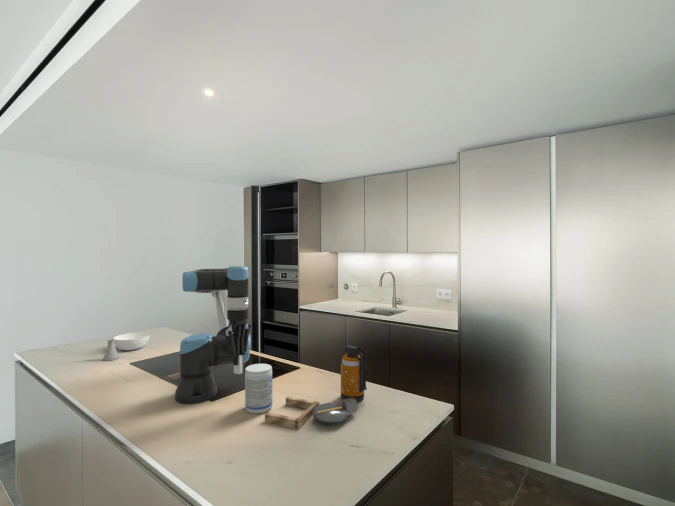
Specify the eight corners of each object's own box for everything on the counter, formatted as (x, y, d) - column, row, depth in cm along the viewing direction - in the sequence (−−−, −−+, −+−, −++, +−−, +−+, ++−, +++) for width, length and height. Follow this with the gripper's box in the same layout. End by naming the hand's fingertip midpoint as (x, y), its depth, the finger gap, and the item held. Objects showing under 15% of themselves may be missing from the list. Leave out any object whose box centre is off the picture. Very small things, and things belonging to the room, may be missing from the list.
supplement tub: (276, 410, 123) (276, 368, 123) (250, 417, 118) (250, 373, 118) (266, 400, 131) (266, 361, 131) (241, 406, 126) (241, 366, 126)
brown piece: (264, 421, 115) (264, 414, 115) (287, 403, 129) (287, 396, 129) (299, 429, 110) (299, 421, 110) (319, 409, 124) (319, 402, 124)
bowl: (105, 352, 195) (105, 339, 195) (129, 343, 213) (129, 332, 213) (134, 354, 192) (134, 340, 192) (156, 345, 210) (156, 333, 210)
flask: (113, 361, 179) (113, 341, 179) (99, 361, 179) (99, 341, 179) (122, 357, 186) (122, 338, 186) (108, 357, 186) (108, 338, 186)
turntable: (321, 427, 109) (321, 414, 109) (308, 412, 119) (308, 400, 119) (362, 417, 115) (362, 405, 115) (347, 404, 125) (347, 393, 125)
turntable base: (316, 422, 114) (316, 419, 114) (324, 413, 121) (324, 410, 121) (336, 426, 112) (336, 423, 112) (343, 417, 118) (343, 414, 118)
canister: (351, 391, 140) (351, 341, 140) (373, 399, 132) (373, 346, 132) (335, 397, 134) (335, 345, 134) (357, 407, 126) (357, 351, 126)
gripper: (234, 311, 120) (235, 380, 120) (257, 306, 132) (257, 368, 132) (217, 310, 123) (217, 377, 123) (240, 305, 135) (240, 366, 135)
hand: (238, 373), depth 128 cm, fingers closed
